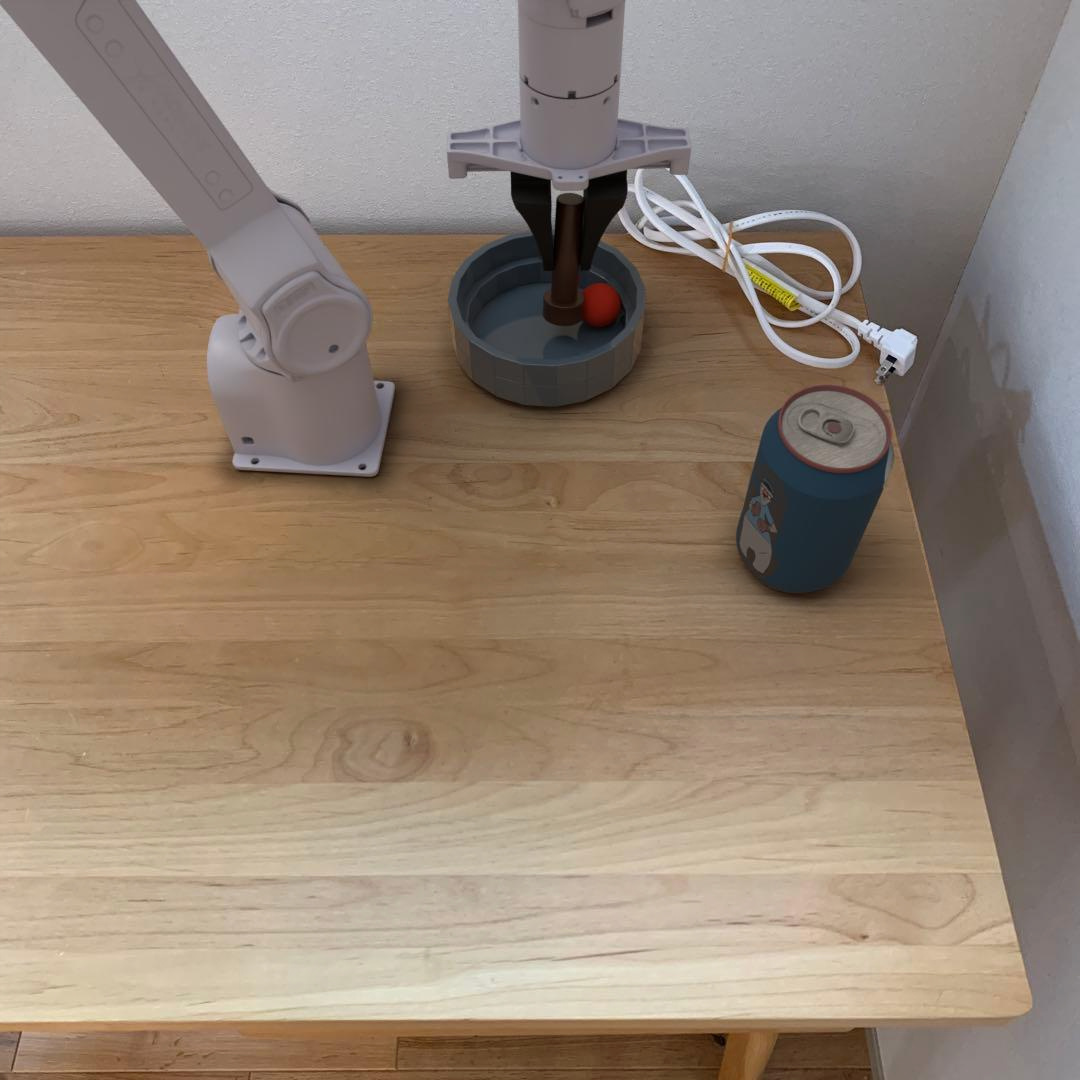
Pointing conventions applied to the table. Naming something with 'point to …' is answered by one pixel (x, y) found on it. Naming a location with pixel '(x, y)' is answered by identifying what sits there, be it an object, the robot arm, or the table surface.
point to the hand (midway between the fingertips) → (566, 260)
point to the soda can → (814, 487)
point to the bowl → (540, 325)
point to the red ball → (600, 305)
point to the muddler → (566, 263)
